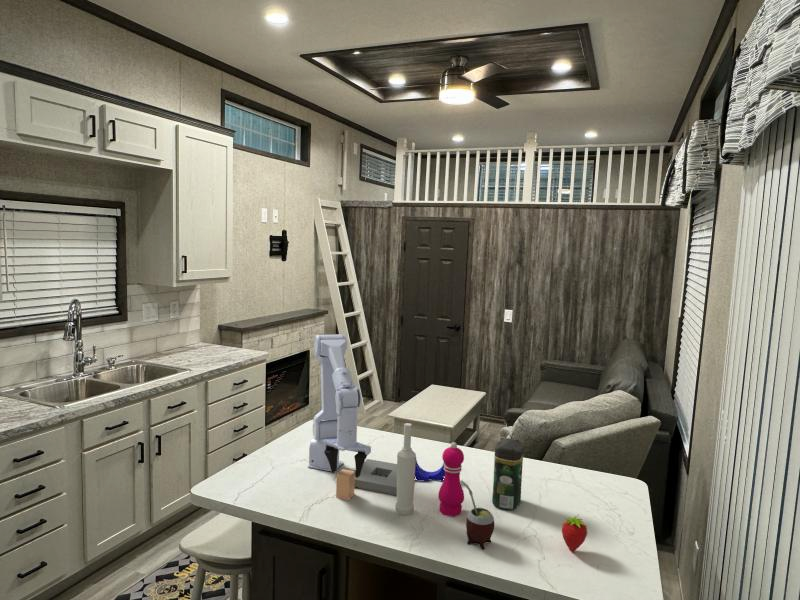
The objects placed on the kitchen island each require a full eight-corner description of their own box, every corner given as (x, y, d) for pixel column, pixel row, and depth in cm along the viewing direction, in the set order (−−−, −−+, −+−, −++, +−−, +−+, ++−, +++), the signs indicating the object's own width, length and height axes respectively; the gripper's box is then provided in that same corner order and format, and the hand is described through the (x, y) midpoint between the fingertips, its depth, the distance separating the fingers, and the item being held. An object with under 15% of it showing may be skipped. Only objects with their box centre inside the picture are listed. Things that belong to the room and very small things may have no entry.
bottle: (416, 508, 153) (419, 422, 150) (410, 517, 148) (414, 428, 145) (398, 505, 154) (402, 420, 152) (392, 513, 149) (395, 425, 147)
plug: (336, 497, 158) (336, 474, 157) (341, 491, 161) (342, 469, 161) (348, 499, 156) (349, 476, 156) (354, 494, 160) (354, 471, 159)
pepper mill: (446, 519, 147) (449, 448, 145) (432, 507, 153) (435, 439, 151) (468, 514, 150) (472, 445, 148) (454, 503, 157) (457, 436, 155)
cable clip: (409, 480, 171) (409, 462, 171) (411, 474, 176) (411, 456, 175) (447, 483, 170) (447, 465, 169) (448, 477, 174) (448, 459, 173)
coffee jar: (496, 493, 164) (499, 434, 162) (522, 499, 161) (526, 438, 159) (488, 507, 155) (492, 444, 153) (516, 513, 152) (520, 450, 150)
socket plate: (347, 485, 165) (347, 478, 165) (367, 466, 180) (367, 458, 180) (396, 495, 160) (397, 487, 160) (412, 474, 175) (413, 466, 175)
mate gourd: (497, 549, 134) (501, 491, 132) (467, 552, 132) (470, 493, 131) (486, 533, 141) (489, 478, 139) (457, 535, 139) (460, 479, 138)
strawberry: (588, 548, 136) (591, 510, 135) (581, 562, 129) (584, 523, 128) (564, 540, 139) (567, 503, 138) (556, 554, 132) (559, 515, 131)
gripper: (318, 429, 155) (317, 475, 157) (364, 437, 151) (363, 483, 152) (329, 422, 162) (328, 466, 163) (374, 429, 157) (372, 474, 159)
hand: (345, 474), depth 158 cm, fingers open, 7 cm apart
